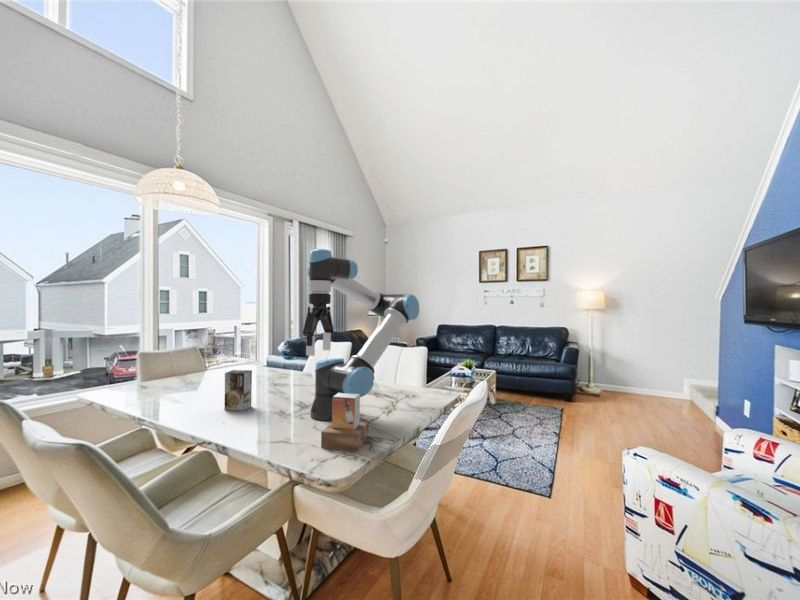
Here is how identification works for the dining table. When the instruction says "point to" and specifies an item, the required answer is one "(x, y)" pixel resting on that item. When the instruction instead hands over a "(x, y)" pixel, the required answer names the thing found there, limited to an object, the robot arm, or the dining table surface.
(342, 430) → the walnut block
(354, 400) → the small box
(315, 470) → the dining table surface
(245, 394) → the coffee box
